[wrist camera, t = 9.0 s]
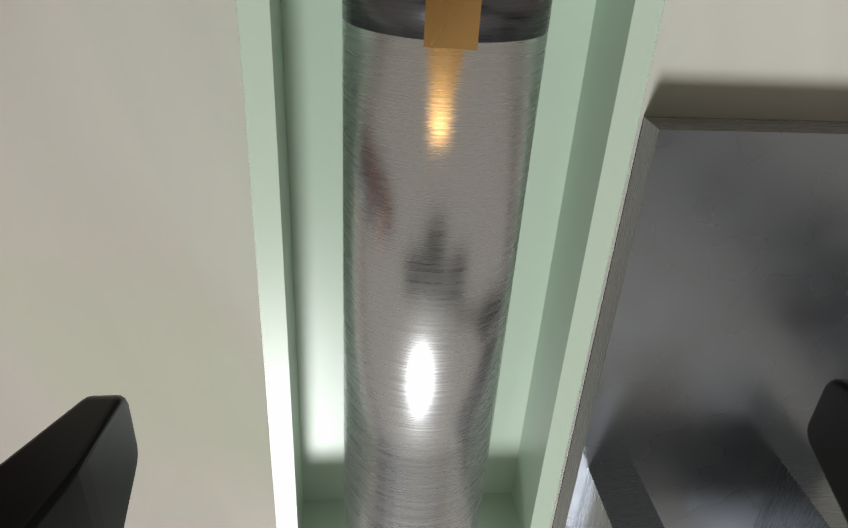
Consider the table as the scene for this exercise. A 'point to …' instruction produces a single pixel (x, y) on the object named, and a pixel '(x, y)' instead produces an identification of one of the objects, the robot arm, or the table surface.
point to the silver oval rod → (430, 244)
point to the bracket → (717, 332)
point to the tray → (535, 262)
